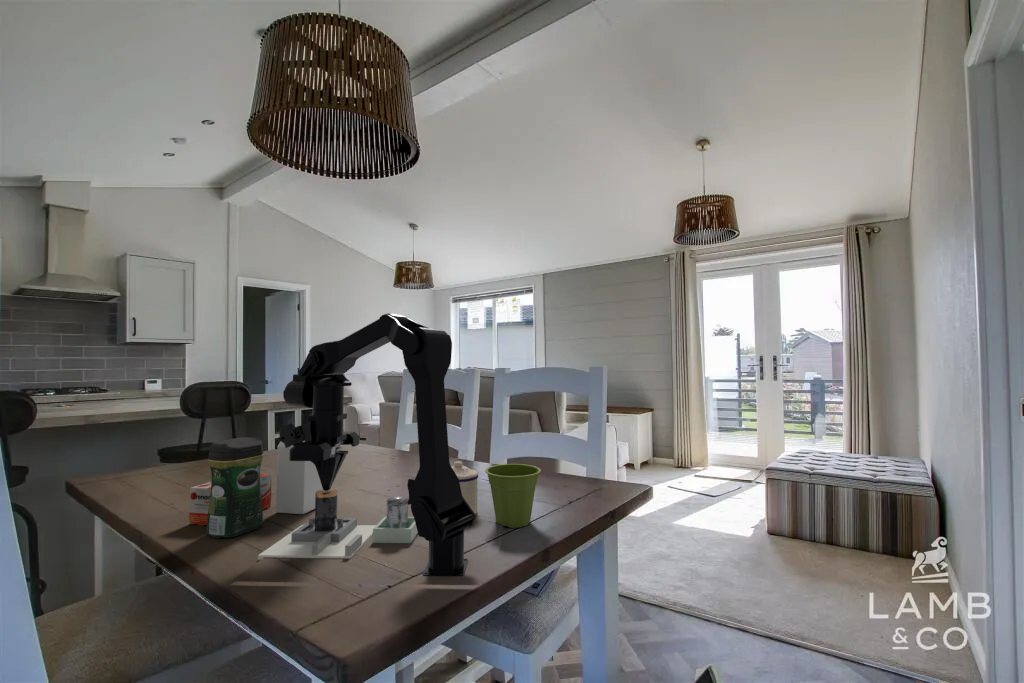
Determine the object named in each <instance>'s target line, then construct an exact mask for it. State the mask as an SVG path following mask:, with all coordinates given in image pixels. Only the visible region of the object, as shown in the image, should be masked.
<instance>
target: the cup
mask: <svg viewBox="0 0 1024 683" xmlns="http://www.w3.org/2000/svg"><path fill="white" fill-rule="evenodd" d="M375 525H376V526H375V527H374V528H373V535H372V544H374V543H375V544H412V543H413V541H414V540H415V538H416V537H417V535H418V531H417V527H416V523H415V519H414V516H408V528H387V516H383V518H381V519H380V521H379V522H378V523H377V524H375Z"/></svg>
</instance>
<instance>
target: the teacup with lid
mask: <svg viewBox="0 0 1024 683" xmlns="http://www.w3.org/2000/svg"><path fill="white" fill-rule="evenodd" d="M463 464H464V463H463V461H459V460H457V461H454V462H453V465H452V466H451V467H452V469H453V470H454V472H455V474H456V475H457V477H458V479H459V483H460V488H461V492H462V496H463V498H464V499H465V501H466V502H467V503H468V505H469V506H470V508H471V509H472V510H473V512H474V513H475V515H477V513H478V478H479V474H478V472H477V471H476V470H474V469H472V468H471V469H470V468H469V467H467V466H466V465H463Z"/></svg>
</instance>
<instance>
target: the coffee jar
mask: <svg viewBox="0 0 1024 683" xmlns="http://www.w3.org/2000/svg"><path fill="white" fill-rule="evenodd" d="M208 450H209V452H208V460H207V463H208V466H209V468H210V472H211V481H210V482H211V494H210V503H209V510H208V517H207V526H206V534H207V535H209V536H210V537H212V538H215V539H220V538H233V537H237V536H240V535H243V534H246V533H249V532H251V531H254V530H257V529H258V528H260V527H262V524H263V523H264V520H263V519H264V518H263V515H264V514H263V510H262V501H261V489H260V474H261V466H262V461H263V458H264V447H263V442H262V440H261V438H259V437H249V436H247V437H244V436H243V437H236V438H231V439H225V440H220V441H215V442H212V443H211V445H210V446H209V449H208Z"/></svg>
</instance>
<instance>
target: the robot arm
mask: <svg viewBox="0 0 1024 683" xmlns="http://www.w3.org/2000/svg"><path fill="white" fill-rule="evenodd" d="M388 343H391V344H392V345H393V346H395V347H396V348H398V349H399V350H401V351H402V352H401V353H402V356H403V362H404V366H405V367H406V369H407V371H408V373H409V374H410V376H411V377H412V379H413V381H414V392H415V393H414V394H415V395H414V396H415V408H416V409H415V410H416V425H417V441H418V457H419V458H418V460H419V468H418V471H417V473H416V475H415V476H414V477H411V478H408V479H407V489H408V490H407V491H408V506H409V505H410V511H411V514H412V517H414V519H415V523H416V527H417V531H418V534H417V535H418V537H421V538H424V539H425V541H428V562H427V565H425V566H426V567H425V568H424V570H423V572H422V576H424V577H426V576H427V577H464V575H465V572H466V569H467V566H468V563H469V559H468V558H465V530H467V529H468V528H471V527H473V525H474V524H475V520H476V517H477V516H476V515H477V514H475V513H474V512H473V510H472V509H471V508H470V506H469V505H468V503H467V502H466V501H465V499H464V498H463V496H462V492H461V488H460V483H459V479H458V477H457V475H456V474H455V472H454V470H453V469H452V466H451V462H450V452H449V438H448V436H449V435H448V422H447V408H446V406H447V404H446V393H445V392H446V390H445V377H446V375H447V373H448V371H449V368H450V366H451V363H452V353H453V350H452V349H453V341H452V338H451V336H450V335H449V334H448V333H447V332H446V331H445V330H443V329H440V328H439V329H438V328H432V327H430V326H426V325H424V324H421V323H419V322H416V321H414V320H412V319H410V318H409V317H407V316H405V315H403V314H395V313H389V312H388V313H384V314H382V315H381V316H380V317H379V318H378V319H376V320H373V321H372V322H370V323H369V324H367V325H365V326H363V327H362V328H360V329H358V330H356V331H354V332H352V333H351V334H349V335H347V336H345V337H344V338H342V339H339V340H334V341H328V342H323V343H319V344H316V345H313V346H312V347H311V348H310V349H309V351H308V353H307V355H306V358H305V360H304V361H303V364H302V366H301V367H300V369H299V370H298V373H297V374H293V375H292V380H290V381H289V382H288V383H287V384H286V385H285V388H284V390H283V393H282V395H283V400H284V402H285V403H286V405H288V406H289V407H291V408H292V407H293V408H303V409H312V412H311V413H312V414H309V415H308V416H307V417H306V423H304V424H301V425H298V426H295V425H294V424H293V423H288V424H285V425H282V426H280V428H279V433H278V435H279V437H278V441H279V443H280V442H283V443H284V444H285V447H286V448H288V447H290V446H291V445H292V446H293V447H292V448H291V449H290V456H289V460H290V461H311V462H312V463H313V464H314V465H315V467H316V469H317V472H318V475H319V478H320V481H321V485H322V490H329V489H332V487H333V484H334V482H335V480H336V478H337V475H338V473H339V471H340V469H341V467H342V465H343V463H344V460H346V457H347V455H348V454H349V450H342V448H343V447H341V446H342V445H343V446H345V445H346V446H347V445H348V446H349V445H350V446H351V447H357V446H359V445H360V435H359V434H358V433H357V432H356V431H344V420H346V419H348V413H347V412H344V406H345V405H344V404H345V403H344V401H345V399H344V398H345V395H344V394H345V387H351V386H352V381H350V380H349V379H348V378H347V376H346V375H345V373H347V372H349V370H351V369H352V368H353V367H354V366H355V364H356V361H357V360H359V359H360V358H362V357H363V356H366V355H367V354H369V353H371V352H373V351H375V350H377V349H379V348H381V347H382V346H385V345H386V344H388ZM303 441H305V442H303ZM442 520H443V521H442Z"/></svg>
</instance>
